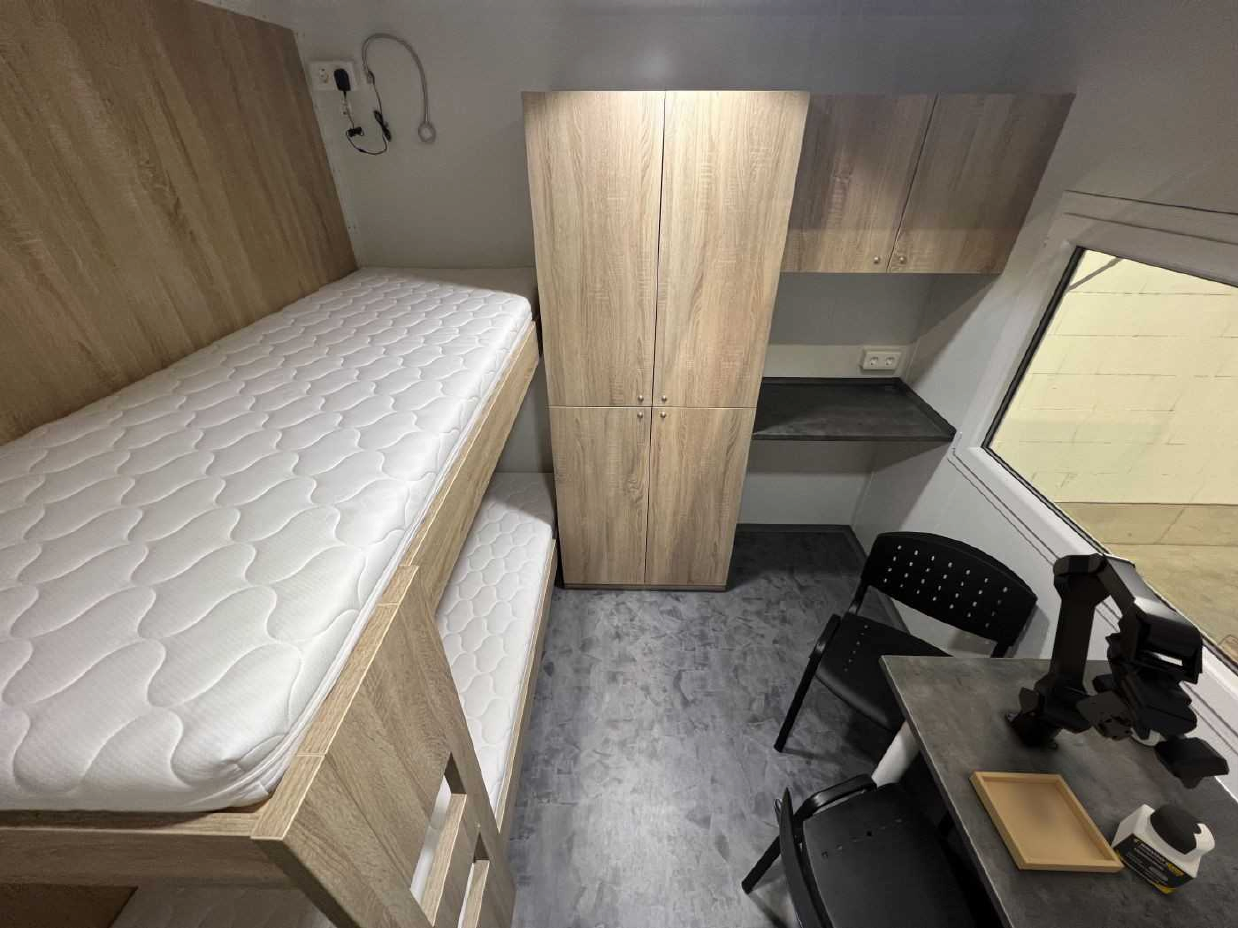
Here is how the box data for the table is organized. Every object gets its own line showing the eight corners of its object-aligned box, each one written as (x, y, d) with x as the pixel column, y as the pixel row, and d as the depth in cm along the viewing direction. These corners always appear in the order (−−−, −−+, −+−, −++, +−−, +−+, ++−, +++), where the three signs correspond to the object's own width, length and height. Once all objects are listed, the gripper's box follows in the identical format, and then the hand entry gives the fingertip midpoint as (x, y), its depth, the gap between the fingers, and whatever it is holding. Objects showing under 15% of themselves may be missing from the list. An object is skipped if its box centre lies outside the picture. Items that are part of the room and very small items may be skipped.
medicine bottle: (1108, 850, 80) (1152, 818, 74) (1119, 821, 84) (1163, 788, 77) (1166, 895, 75) (1219, 864, 69) (1176, 862, 79) (1227, 830, 72)
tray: (1019, 869, 78) (1026, 862, 76) (969, 777, 89) (974, 771, 88) (1116, 872, 78) (1124, 866, 76) (1053, 780, 89) (1060, 774, 88)
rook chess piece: (1142, 725, 98) (1167, 702, 94) (1161, 748, 95) (1188, 725, 90) (1119, 723, 99) (1143, 700, 94) (1137, 745, 95) (1162, 722, 91)
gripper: (1045, 654, 87) (1070, 725, 89) (1118, 738, 69) (1146, 822, 72) (1122, 640, 83) (1146, 714, 85) (1219, 725, 65) (1245, 815, 68)
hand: (1165, 762), depth 77 cm, fingers open, 9 cm apart
